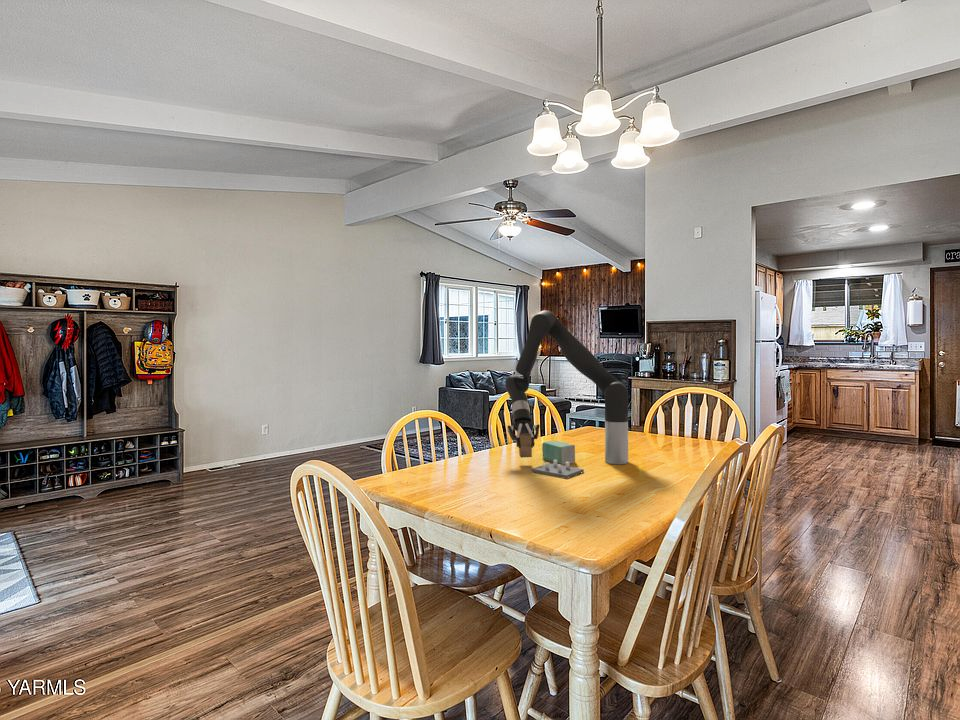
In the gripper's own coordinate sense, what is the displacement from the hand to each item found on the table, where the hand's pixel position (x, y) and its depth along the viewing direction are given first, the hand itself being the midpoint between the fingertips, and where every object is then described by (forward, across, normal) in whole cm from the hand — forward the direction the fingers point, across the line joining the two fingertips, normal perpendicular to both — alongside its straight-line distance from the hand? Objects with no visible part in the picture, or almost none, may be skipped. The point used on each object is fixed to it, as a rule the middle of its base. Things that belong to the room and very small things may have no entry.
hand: (526, 446), depth 219 cm
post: (+2, 0, +4) cm, 5 cm away
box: (0, +15, +12) cm, 19 cm away
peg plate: (+14, +10, -3) cm, 17 cm away
